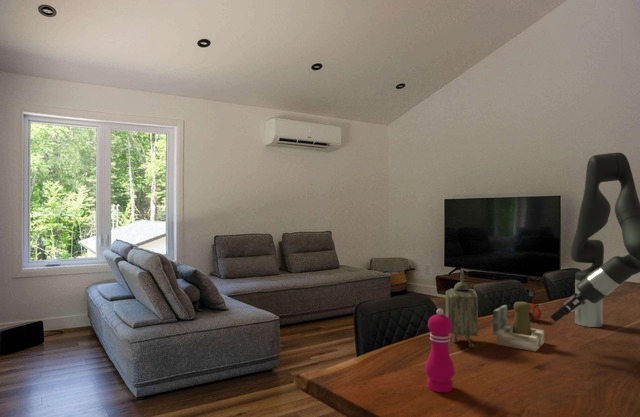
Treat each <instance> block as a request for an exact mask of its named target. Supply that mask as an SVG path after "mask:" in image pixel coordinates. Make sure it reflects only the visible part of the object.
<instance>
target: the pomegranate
mask: <svg viewBox="0 0 640 417" xmlns="http://www.w3.org/2000/svg"><path fill="white" fill-rule="evenodd" d="M528 303H529V302H528ZM529 304H530V307H531V309H530V312H529V318H530V321H533V322H537V321H539V320H540V319H541V318H542V311H541V309H540V306H539V304H536V303H529Z"/></svg>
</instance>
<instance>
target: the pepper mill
mask: <svg viewBox="0 0 640 417" xmlns="http://www.w3.org/2000/svg"><path fill="white" fill-rule="evenodd" d="M444 313H445V310H443V309H442V308H438V309H436V314H434V315H431V316H430V317H429V319H428V321H427V329H428V330H429V331H430V333H429V336H430V337H429V340H431V350H430V353H429V356H428V358H427V360H426V363H425V367H424V370H425V374H426V375H427V377H428V378H426V386H427V389H429V390H430V391H432V392H437V393H450V392H451V391H453V389H454V388H453V384H454V383H453V381H452V379H453V377H454V376H455V374H456V373H455V372H456V371H455V370H456V369H455V366H454V363H453V360H452V358H451V356H450V352H449V342H450V341H451V333H450V332H451V330H452V322H451V320H450V319H449V318H448V317H447V316H446V314H445V315H444Z"/></svg>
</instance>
